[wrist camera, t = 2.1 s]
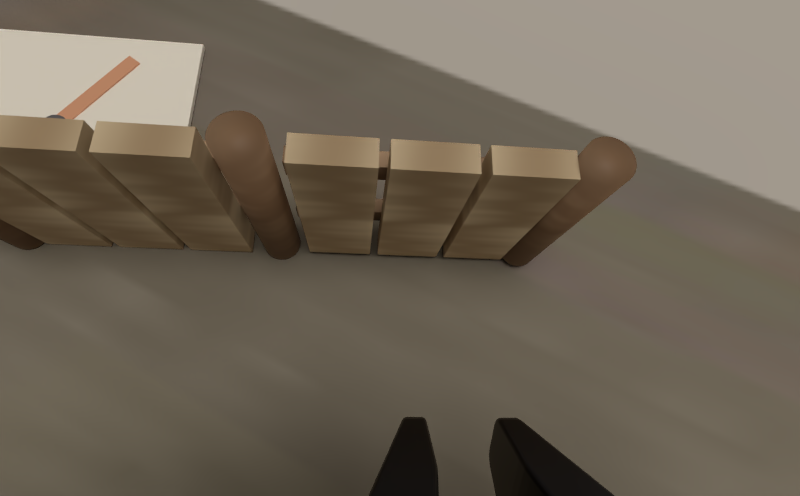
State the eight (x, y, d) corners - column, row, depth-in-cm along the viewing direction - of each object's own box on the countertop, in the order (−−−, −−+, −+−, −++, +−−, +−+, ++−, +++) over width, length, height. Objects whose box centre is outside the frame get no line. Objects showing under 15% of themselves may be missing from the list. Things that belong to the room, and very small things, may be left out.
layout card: (-155, 185, 20) (-165, 181, 20) (-85, 26, 23) (-91, 20, 23) (176, 201, 21) (173, 198, 21) (204, 48, 24) (202, 43, 24)
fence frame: (6, 248, 20) (-251, 134, 11) (18, 208, 21) (-217, 71, 12) (299, 260, 21) (261, 162, 13) (302, 221, 22) (269, 103, 13)
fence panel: (300, 257, 21) (266, 164, 13) (303, 218, 21) (273, 106, 13) (534, 266, 22) (640, 185, 14) (530, 228, 22) (631, 129, 14)
